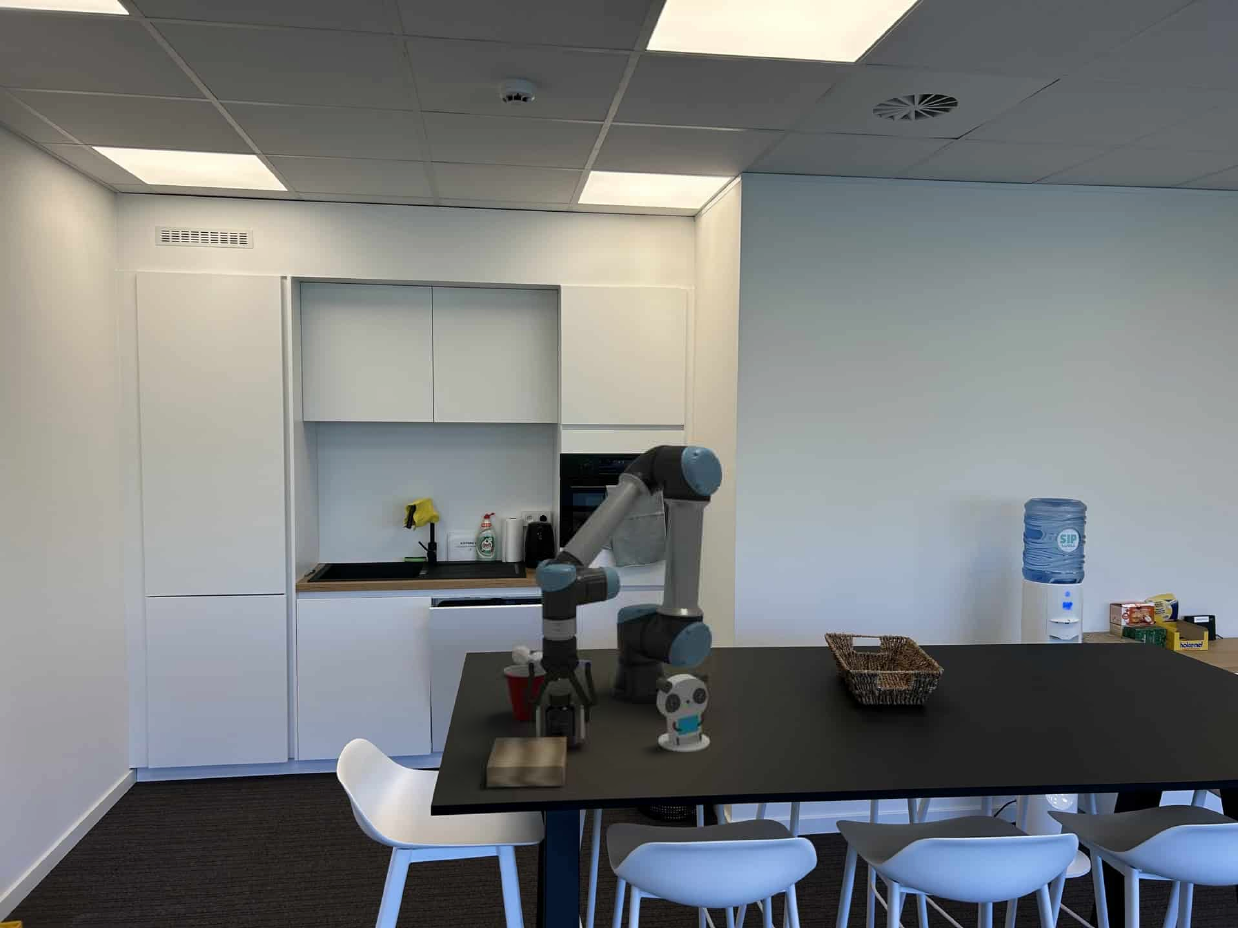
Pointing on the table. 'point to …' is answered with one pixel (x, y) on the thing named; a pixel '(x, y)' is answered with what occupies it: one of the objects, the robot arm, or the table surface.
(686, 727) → the disc-based toy figure
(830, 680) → the table surface
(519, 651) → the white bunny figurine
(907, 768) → the table surface
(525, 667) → the plastic cup
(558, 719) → the supplement bottle
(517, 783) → the oak block
